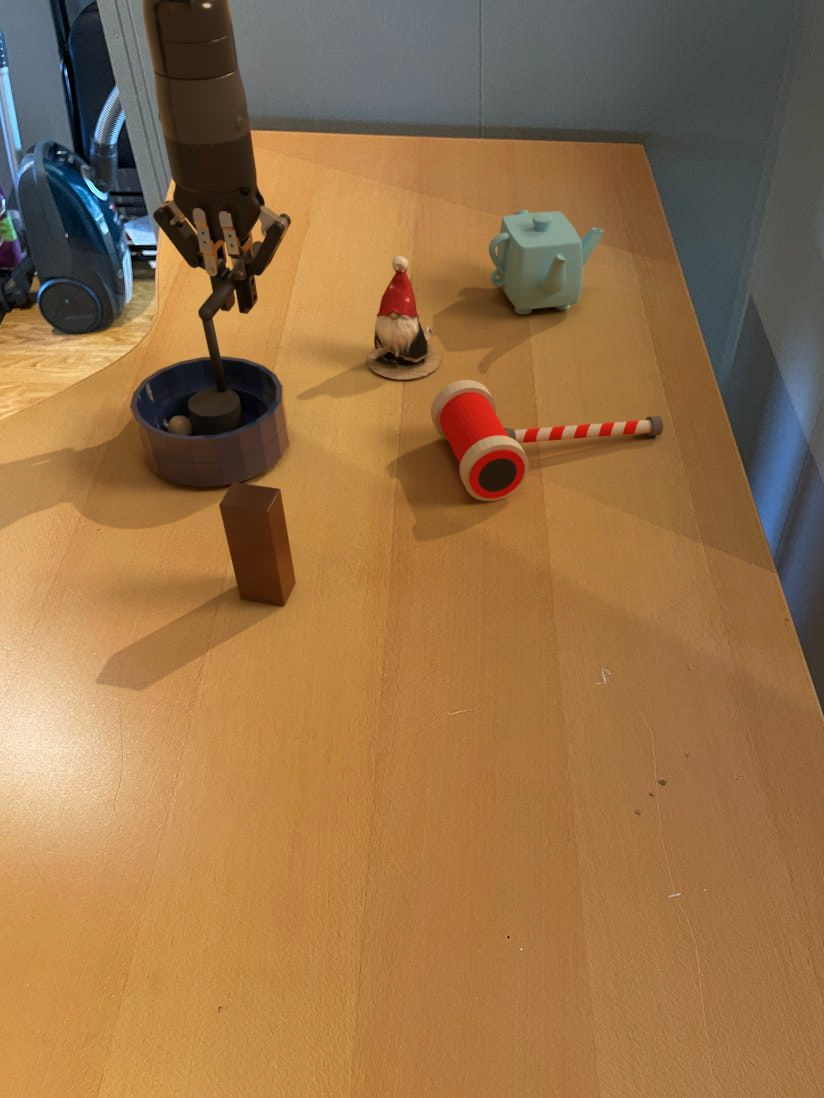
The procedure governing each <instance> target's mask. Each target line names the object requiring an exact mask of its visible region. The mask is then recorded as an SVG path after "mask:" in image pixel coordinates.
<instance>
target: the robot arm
mask: <svg viewBox="0 0 824 1098" xmlns="http://www.w3.org/2000/svg"><path fill="white" fill-rule="evenodd" d="M229 4H230V3H229V0H142V16H143V17H142V18H143V24H144V29H145V36H146V40H147V44H148V49H149V50H148V51H149V56H150V60H151V65H152V69H153V76H154V88H155V97H156V98H155V99H156V106H157V110H158V113H157V114H158V119H159V122H160V126H161V130H162V135H163V140H164V144H165V150H166V155H167V160H168V164H169V170H170V174H171V179H172V181H173V183H174V190H173V193H172V199H171V200H169V199H168V200H165V201H164V202H163V203H162V204H161V205H159V207H157V208H156V210H155V211H154V212H153V214H152V217H153V220H154V221H155V222H156V224H157V225H158V226H159V227H160V229H161V231H162V232H163V233H164V234H165V236H166V237H167V238H168V240H169V241H170V243H172V245H173V246H174V247H175V249H176V250H177V251H178V253H179V254H180V255H181V257H182V258H183V260H184V261H185V262H186V263H187V265H188V266H189V267H190V268H193V269H197V268H200V269H202V270H204V271H205V273H206V274H207V275H208V276H209V279H210V284H211V291H212V292H213V291H214V290H215V289H216V288H217V287H218V285H219V284H220V283H221V282H222V281H223V279H224V278H225V277H226V276H227V274H228V273H229V272H230V271H231V268H230V267H227V265H226V264H227V261H228V260H227V256H228V257H230V261H231V266H232V268H233V271H234V275H235V279H234V283H235V286H236V288H235V290H234V292H233V293H232V294H231V296H230V297H229V298H228V299H227V301H226V302H225V303H224V304H223V306H222V307H221V308H220V309H219V310H220V311H221V312H230V311H231V310H232V308H233V307H234V306H235V304H236V302H237V307H238V312H239V313H240V314H245V315H248V314H249V313H250V312H251V311H252V309H253V308H254V306H255V305H256V304H257V302H258V299H259V297H258V291H257V284H256V283H257V282H256V277H255V276H257V277H259V276H261V275H263V274H264V272H265V271H266V270H267V269H268V267H269V266H270V264H271V263H272V262H273V259H274V257H275V256H276V253H277V251H278V249H279V247H280V245H281V244H282V242H283V239H284V237H285V236H286V234H287V231H288V230H289V228H290V226H291V223H292V219H291V217H290V215H288V214H286V213H281V214H279V215H278V214H277V213H276V212H274V211H273V210H271V209H270V208H269V207H267V206H266V202H265V198H264V196H263V195H262V193H261V191H260V189H259V187H258V176H257V167H256V159H255V153H254V144H253V137H252V131H251V124H250V118H249V117H250V115H249V110H248V103H247V95H246V90H245V87H244V82H243V79H242V76H241V72H240V67H239V59H238V52H237V45H236V40H235V39H236V38H235V31H234V26H233V20H232V14H231V11H230V10H231V9H230V6H229ZM258 221H260V224H261V227H260V232H261V235H262V236H263V237H264V238H263V241H262V245H261V247H260V249H259V251H258V253H257V255H256V256H255V257H253V251H252V244H253V243H254V239H253V234H252V230H253V229H254V227H255V225H256V224H257V222H258ZM194 229H195V230H194ZM235 295H236V297H235ZM236 300H237V301H236Z"/></svg>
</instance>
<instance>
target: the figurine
mask: <svg viewBox="0 0 824 1098" xmlns="http://www.w3.org/2000/svg"><path fill="white" fill-rule="evenodd" d="M409 263H410V262H409V260H408V259H407V258H405V257H404V256H402V255H395V256H394V257H393V259H392V261H391V264H392V265H391V266H392V269H393V271H394V272H395V274H394V275H393V276H392V278H391V280H390V282H389V283H388V286H387V287H386V289H385V290H384V292H383V294H382V296H381V299H380V303H379V309H378V312H377V314H376V320H375V324H374V337H373V345H374V348H373V349H372V351H370V352H369V353H368V356H367V358H366V363H367V366H368V368H369V369H370V370H371V371H372V372H374V373H375V374H378V375H380V376H382V377H385V378H388V379H392V380H393V379H394V380H401V381H402V380H405V381H409V380H410V381H412V380H413V381H414V380H418V379H421V378H422V377H426V378H427V377H428V375H431V374H432V373H434V372H437V370H438V369H439V366H440V364H441V361H442V359H441V354H440V352H438V350H437V349H435V347H433V346H431V345H430V344H429V343H428V340H429V338H430V336H431V334H432V333H434V330H433V329H432V327H431V326H430V325H427V326H426V327H425V331H424V329H423V327H422V325H421V322H420V320H419V318H420V315H419V313H418V310H417V302H416V297H415V293H414V290H413V286H412V283H411V280H410V278H409V276H408V274H407V271H408V270H409V265H410V264H409ZM390 353H391V354H393V355H394V356H395V357H396V358H399V357H401V358H402V359H404V360H403V361H402V360H401V361H400V362H399V361H396V360H392V359H387V358H386V357H385V355H387V354H390Z"/></svg>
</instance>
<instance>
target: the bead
mask: <svg viewBox="0 0 824 1098" xmlns="http://www.w3.org/2000/svg"><path fill="white" fill-rule="evenodd" d="M168 431H169V433H171V434H178V435H185V436H191V434H192V432H193V425H192V423H191V421H190V420H189V419H188V418H187V417H185V416H175V417H173V418H172V419H171V420H170V421H169V423H168Z"/></svg>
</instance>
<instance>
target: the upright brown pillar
mask: <svg viewBox="0 0 824 1098" xmlns="http://www.w3.org/2000/svg"><path fill="white" fill-rule="evenodd" d="M283 502H284V501H283V496H282V490H281V488H279V487H272V486H264V485H257V484H251V483H245V482H244V483H243V482H233V483H232V484H230V486H229V487H228V489H227V491H226V492H225V494H224V496H223V497H222V499H221V501H220V502H219V503H218V504H219V505H218V507H219V511H220V515H221V520H222V524H223V529H224V534H225V537H226V538H225V539H226V541H227V546H228V551H229V555H230V559H231V563H232V569H233V573H234V577H235V582H236V586H237V590H238V595H239V599H240V600H245V601H251V602H257V603H263V604H268V605H269V604H271V605H274V606H275V605H276V606H280V607H281V606H282V607H285V606H286V605H287V602H288V600H289V597H290V596H291V594H292V591H293V590H294V588H295V585H296V583H297V581H296V576H295V575H296V574H295V569H294V563H293V562H294V561H293V556H292V550H291V544H290V540H289V533H288V527H287V521H286V514H285V508H284V504H283Z"/></svg>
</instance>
